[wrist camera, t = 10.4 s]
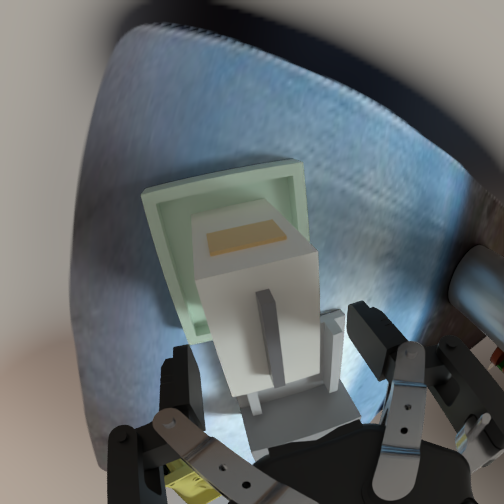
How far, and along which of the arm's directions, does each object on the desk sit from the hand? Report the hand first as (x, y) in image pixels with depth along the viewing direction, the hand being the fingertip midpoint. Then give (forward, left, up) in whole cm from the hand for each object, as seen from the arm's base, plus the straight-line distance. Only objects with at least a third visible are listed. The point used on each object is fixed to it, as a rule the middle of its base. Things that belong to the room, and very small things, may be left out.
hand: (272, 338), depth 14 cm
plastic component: (+15, +35, -10) cm, 40 cm away
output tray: (0, 0, -10) cm, 10 cm away
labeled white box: (0, 0, -9) cm, 9 cm away
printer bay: (-3, +15, -10) cm, 18 cm away
